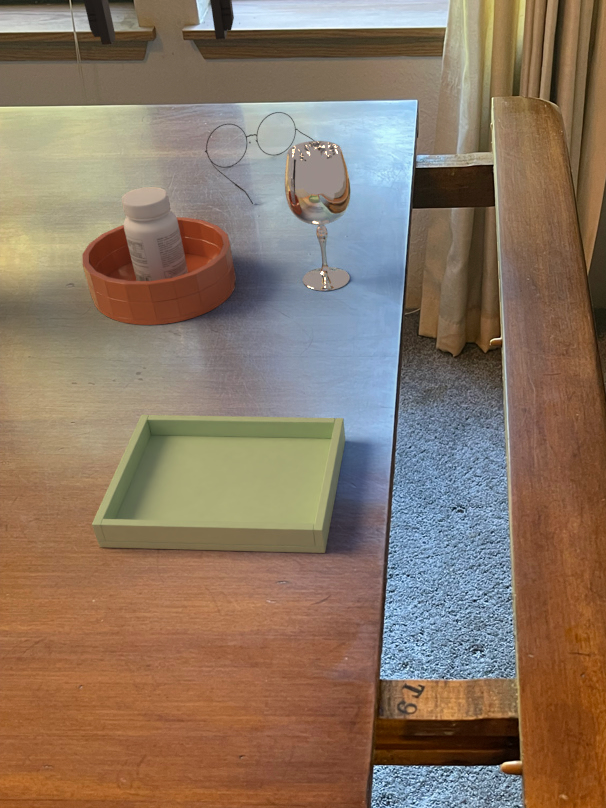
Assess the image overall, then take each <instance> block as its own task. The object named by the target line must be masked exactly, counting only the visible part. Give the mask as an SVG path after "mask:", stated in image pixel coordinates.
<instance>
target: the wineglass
mask: <svg viewBox="0 0 606 808" xmlns="http://www.w3.org/2000/svg"><path fill="white" fill-rule="evenodd" d="M286 152H287V153H286V160H285V168H284V192H285V198H286V202H287V203H286V204H287V206H288V208H289V210H290V212H291V213H292V214H293V216H295V217H296V218H297V219H298V220H299V221H301V222H303V223H306V224H308V225H313V226H317V227H316V233H315V235H316V238H317V240H318V244H319V246H320V247H319V248H320V253H321V254H320V255H321V267H318V268H313V269H312V270H309V271H307V272H306V273H305V274H304V276H303V277H302V283H303V285H304V287H306V288H308V289H310V290H313V291H319V292H326V291H334V290H338V289H340V288H343V287H345V286H346V285H347V284H348V283H349V282H350V280H351V278H350V277H351V276H350V274H349V273H348V272H347V271H346V270H345V269H342V268H339V267H335V266H334V267H333V266H329V264H328V259H327V257H328V256H327V239H328V234H329V232H328V229H327V227H326V226H325V225H329V224H331V223H334V222H336V221H338V220H339V219H341V218H342V217H343V216H344V215H345V213H346V212H347V210H348V208H349V206H350V202H351V188H352V187H351V179H350V174H349V171H348V165H347V162H346V160H345V157H344V153H343V150H342V147H341V146H340V145H338V144H337V143H335V142H331V141H328V140H327V141H326V140H314V141H313V140H309V141H304V142H300V143H297V144H295V145H292V146H290V147H289V149H288V150H287V151H286Z"/></svg>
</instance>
